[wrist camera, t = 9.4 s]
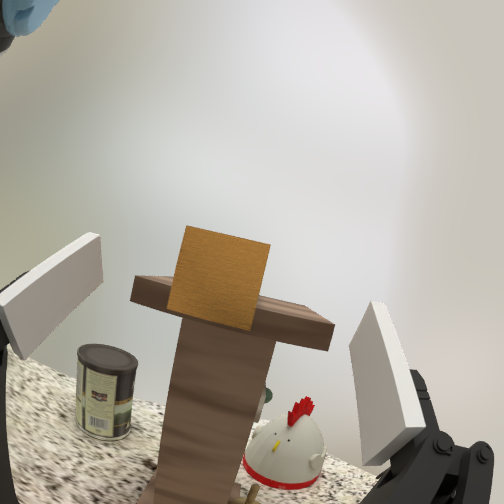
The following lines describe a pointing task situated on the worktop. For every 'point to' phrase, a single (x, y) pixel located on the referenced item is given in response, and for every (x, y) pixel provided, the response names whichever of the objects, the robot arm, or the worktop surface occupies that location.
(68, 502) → the worktop surface
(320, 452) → the kitchen timer
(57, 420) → the worktop surface
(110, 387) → the coffee can
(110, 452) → the worktop surface
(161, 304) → the stand
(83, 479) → the worktop surface
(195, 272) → the long square bar
